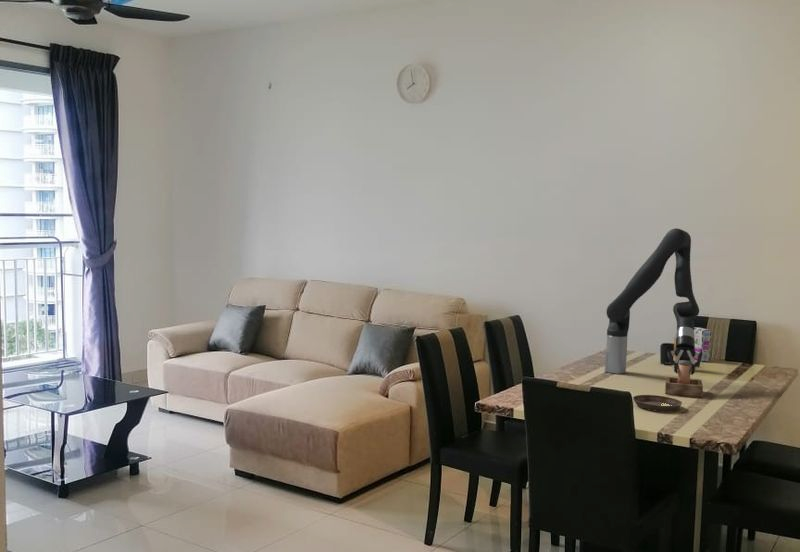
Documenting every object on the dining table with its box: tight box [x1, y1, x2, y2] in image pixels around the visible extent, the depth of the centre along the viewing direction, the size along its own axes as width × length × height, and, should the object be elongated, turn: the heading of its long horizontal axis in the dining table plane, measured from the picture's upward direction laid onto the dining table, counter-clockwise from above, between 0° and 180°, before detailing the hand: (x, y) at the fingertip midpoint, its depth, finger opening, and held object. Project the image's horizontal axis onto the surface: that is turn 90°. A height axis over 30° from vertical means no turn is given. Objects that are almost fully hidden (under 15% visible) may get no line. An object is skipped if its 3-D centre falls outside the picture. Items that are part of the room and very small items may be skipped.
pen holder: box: [659, 342, 674, 366], centre depth 376 cm, size 9×9×10 cm
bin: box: [664, 376, 704, 399], centre depth 313 cm, size 14×14×5 cm
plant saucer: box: [632, 394, 683, 412], centre depth 287 cm, size 18×18×3 cm
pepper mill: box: [677, 360, 691, 384], centre depth 312 cm, size 5×5×12 cm
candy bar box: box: [694, 326, 712, 363], centre depth 391 cm, size 11×5×16 cm, turn 6°
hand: (684, 372), depth 310 cm, fingers open, 5 cm apart
